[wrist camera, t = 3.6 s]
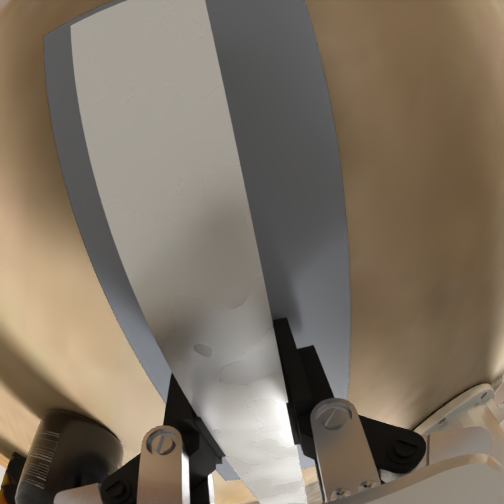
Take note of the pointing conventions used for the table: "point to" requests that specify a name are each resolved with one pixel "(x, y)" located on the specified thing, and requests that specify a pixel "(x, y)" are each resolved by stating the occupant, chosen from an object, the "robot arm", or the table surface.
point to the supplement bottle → (67, 457)
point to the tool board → (254, 175)
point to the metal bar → (187, 225)
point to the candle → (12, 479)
